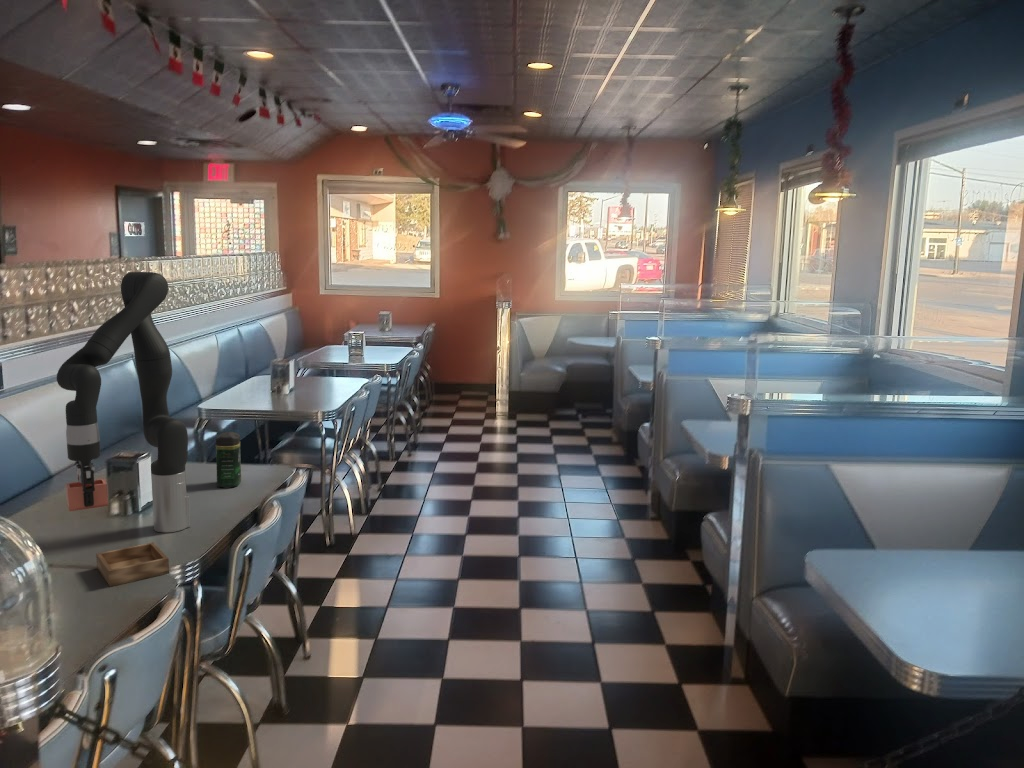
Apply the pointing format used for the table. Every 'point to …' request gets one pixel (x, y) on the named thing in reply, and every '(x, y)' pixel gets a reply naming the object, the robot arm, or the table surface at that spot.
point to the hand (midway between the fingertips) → (87, 502)
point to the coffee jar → (228, 459)
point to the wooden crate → (132, 564)
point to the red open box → (77, 499)
